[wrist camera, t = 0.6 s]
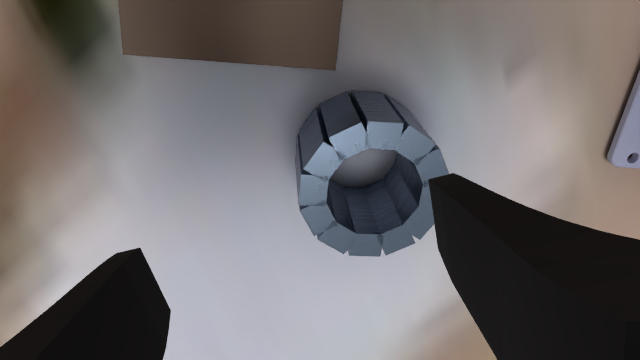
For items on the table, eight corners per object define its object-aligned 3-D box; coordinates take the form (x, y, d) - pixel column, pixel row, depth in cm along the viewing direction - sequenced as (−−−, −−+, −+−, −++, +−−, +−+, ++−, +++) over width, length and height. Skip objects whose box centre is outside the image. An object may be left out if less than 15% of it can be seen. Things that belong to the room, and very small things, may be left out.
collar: (430, 95, 20) (463, 127, 16) (407, 208, 22) (432, 258, 19) (300, 86, 19) (305, 117, 16) (292, 204, 22) (294, 253, 18)
